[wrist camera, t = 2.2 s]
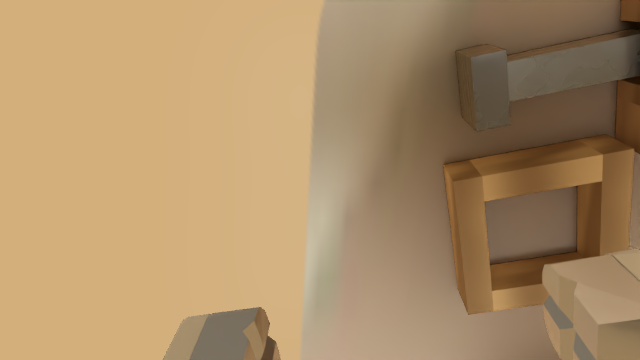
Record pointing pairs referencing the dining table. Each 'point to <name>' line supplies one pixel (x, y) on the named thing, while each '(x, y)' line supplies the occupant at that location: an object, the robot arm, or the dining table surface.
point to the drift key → (539, 73)
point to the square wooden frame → (525, 178)
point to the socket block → (629, 92)
